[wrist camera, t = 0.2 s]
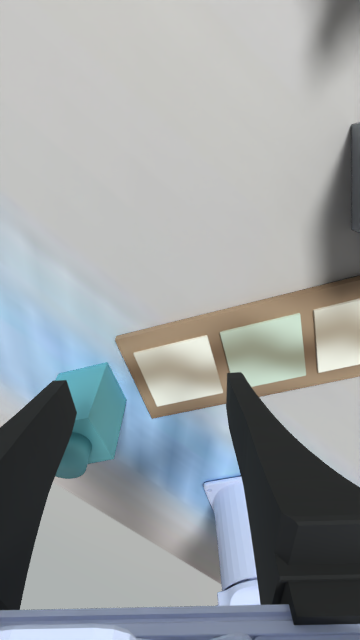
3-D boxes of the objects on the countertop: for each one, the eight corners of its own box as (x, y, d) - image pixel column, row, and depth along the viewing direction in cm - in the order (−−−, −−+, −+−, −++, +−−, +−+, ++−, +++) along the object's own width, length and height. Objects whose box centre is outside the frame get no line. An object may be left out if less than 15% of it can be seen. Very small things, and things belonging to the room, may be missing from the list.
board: (401, 362, 25) (407, 368, 24) (152, 413, 28) (151, 420, 27) (411, 262, 21) (419, 266, 20) (116, 336, 24) (114, 341, 23)
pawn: (126, 399, 27) (109, 479, 20) (81, 409, 28) (50, 490, 21) (107, 362, 25) (81, 437, 18) (59, 373, 26) (16, 450, 19)
